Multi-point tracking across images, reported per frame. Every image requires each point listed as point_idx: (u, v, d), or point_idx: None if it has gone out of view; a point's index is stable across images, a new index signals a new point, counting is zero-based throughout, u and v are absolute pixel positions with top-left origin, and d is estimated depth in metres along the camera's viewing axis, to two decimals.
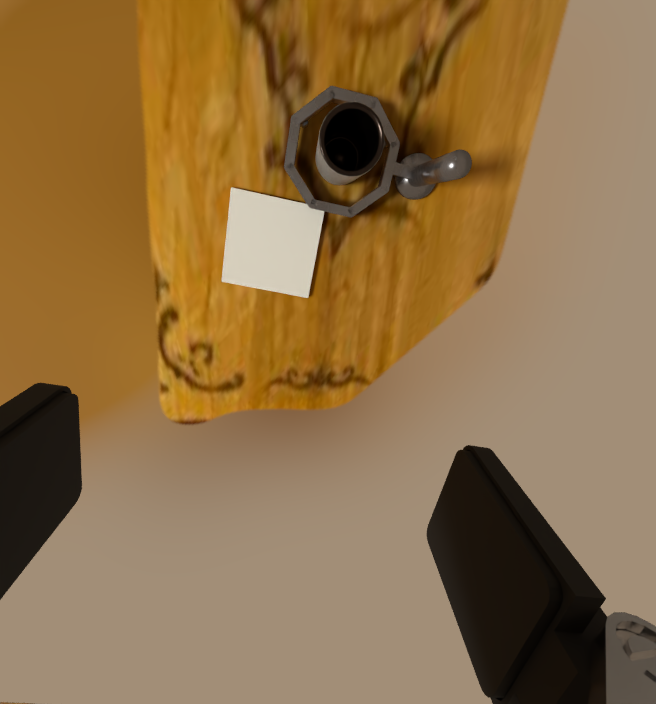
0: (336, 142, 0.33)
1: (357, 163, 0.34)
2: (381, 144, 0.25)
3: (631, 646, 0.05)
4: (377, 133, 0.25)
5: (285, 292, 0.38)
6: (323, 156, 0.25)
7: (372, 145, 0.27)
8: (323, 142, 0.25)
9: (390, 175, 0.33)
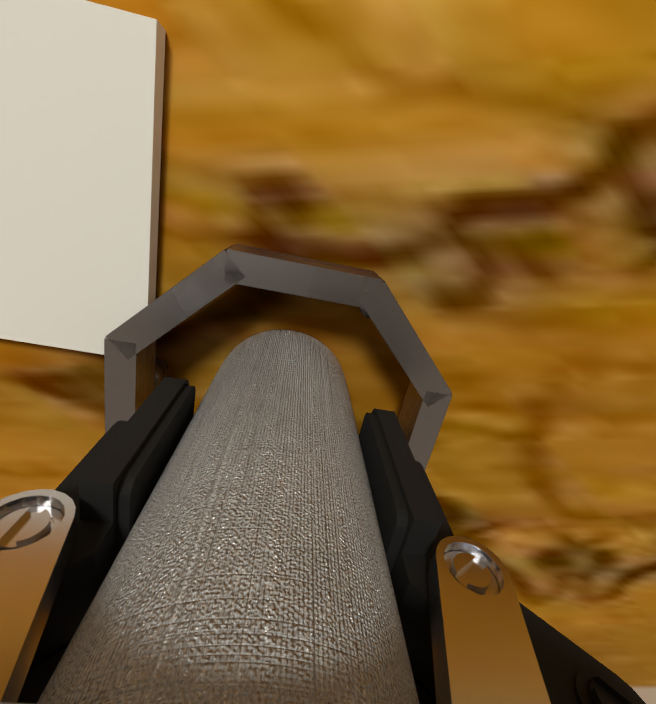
0: None
1: None
2: None
3: (456, 566, 0.06)
4: None
5: None
6: None
7: None
8: None
9: None
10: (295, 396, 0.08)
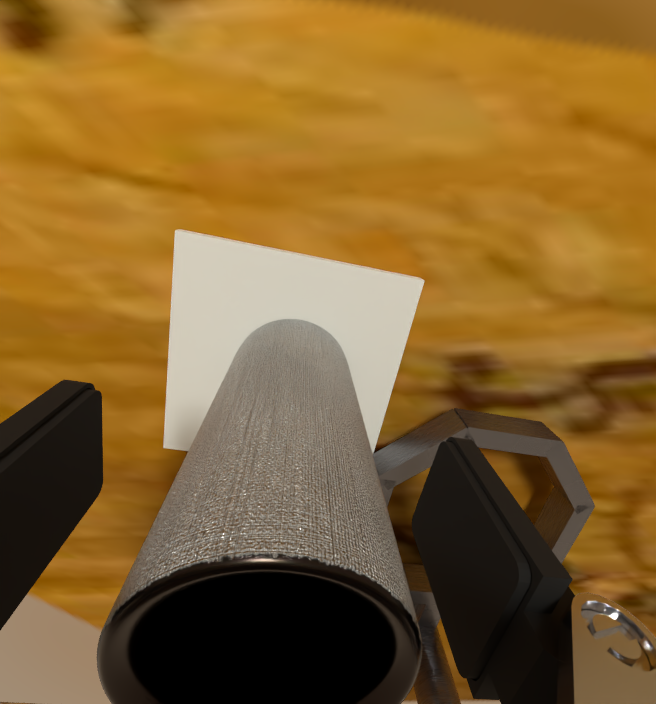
0: None
1: None
2: None
3: (595, 625, 0.05)
4: None
5: (169, 398, 0.15)
6: (169, 579, 0.04)
7: (283, 595, 0.08)
8: (241, 574, 0.04)
9: (427, 601, 0.17)
10: (307, 370, 0.10)
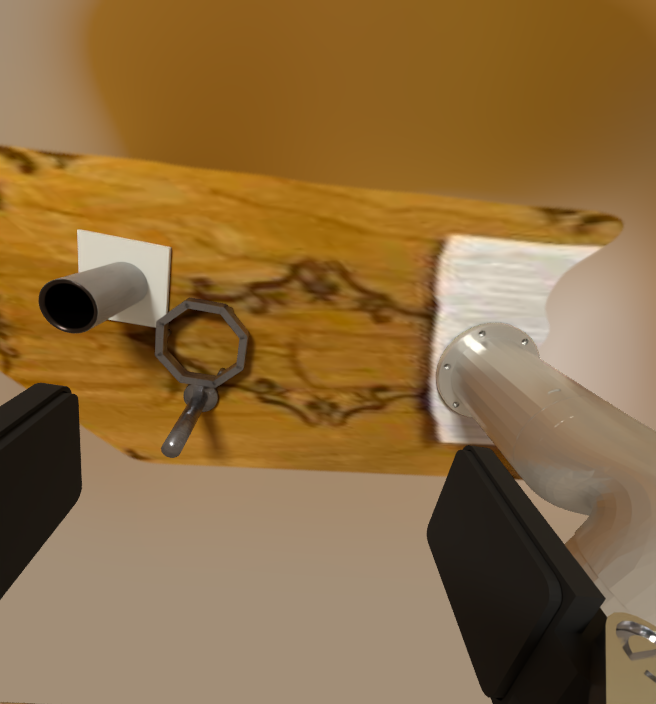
0: None
1: None
2: (71, 331, 0.30)
3: (631, 646, 0.05)
4: (81, 327, 0.30)
5: None
6: (48, 283, 0.29)
7: (90, 320, 0.33)
8: (59, 282, 0.29)
9: (191, 382, 0.42)
10: (105, 269, 0.34)
